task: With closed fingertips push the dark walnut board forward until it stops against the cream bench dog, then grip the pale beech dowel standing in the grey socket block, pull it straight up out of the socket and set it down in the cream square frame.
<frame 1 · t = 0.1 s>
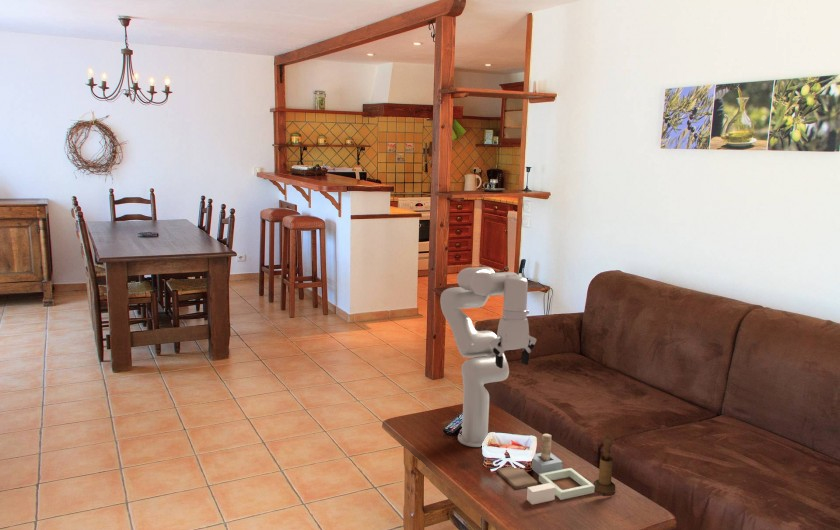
hand: (512, 365, 209), 37 cm above the table, tool pointing down, fingers open, 9 cm apart
dowel: (544, 469, 214), point 1 cm above the table, touching socket
socket: (544, 472, 214), on the table
cream square frame: (565, 489, 203), on the table
bench dog: (540, 502, 195), on the table
board: (516, 482, 207), on the table
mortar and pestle: (604, 491, 202), on the table
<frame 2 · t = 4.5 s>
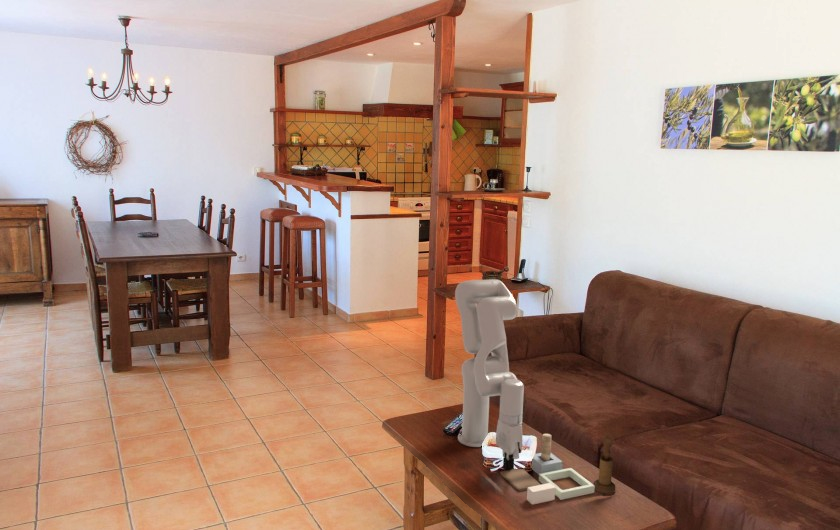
hand: (508, 469, 212), 1 cm above the table, tool pointing down, fingers closed
board: (519, 485, 206), on the table, touching gripper
everything else where it was.
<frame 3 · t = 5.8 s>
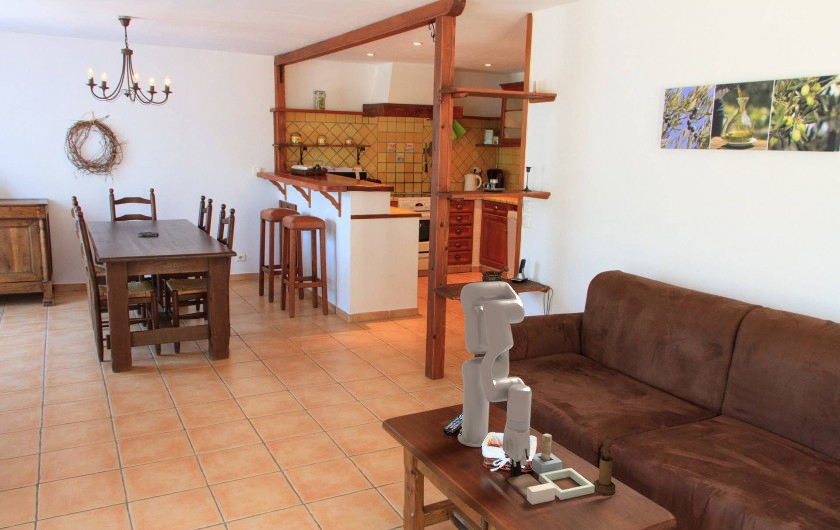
hand: (515, 475, 208), 1 cm above the table, tool pointing down, fingers closed
board: (527, 491, 202), on the table
everything else where it was.
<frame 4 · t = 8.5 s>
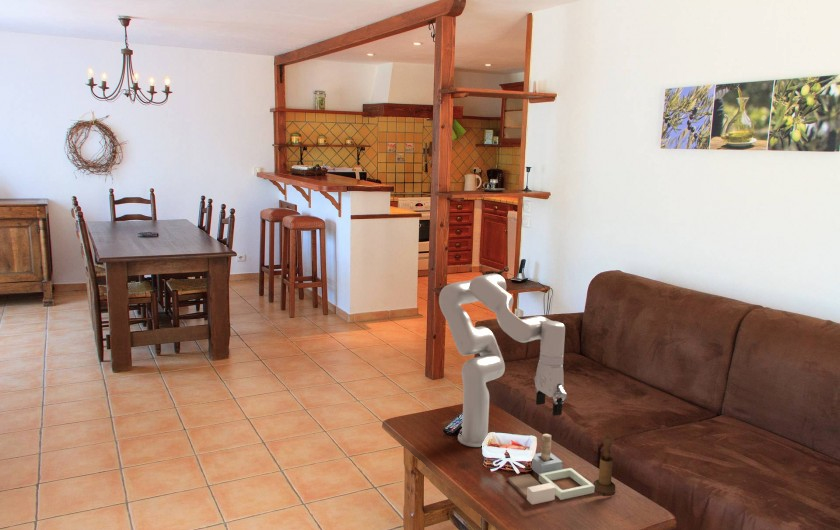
hand: (548, 409, 210), 22 cm above the table, tool pointing down, fingers open, 9 cm apart
nothing on the table moved.
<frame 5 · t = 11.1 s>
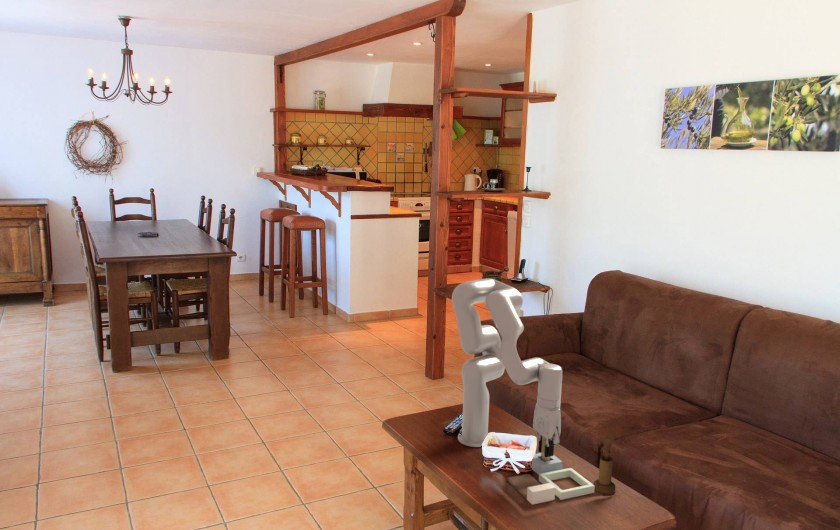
hand: (545, 453, 213), 7 cm above the table, tool pointing down, fingers closed on dowel, 2 cm apart
dowel: (544, 468, 213), point 1 cm above the table, touching gripper
everything else where it was.
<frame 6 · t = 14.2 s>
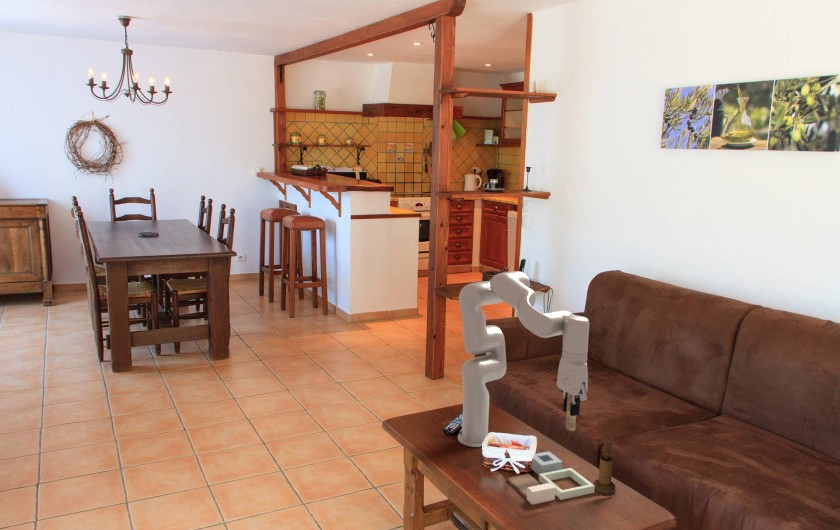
hand: (571, 412, 198), 26 cm above the table, tool pointing down, fingers closed on dowel, 2 cm apart
dowel: (570, 428, 199), point 21 cm above the table, touching gripper
everything else where it was.
when the fingers open (8 cm above the table, at t = 17.4 s): dowel drops 3 cm, resting on cream square frame.
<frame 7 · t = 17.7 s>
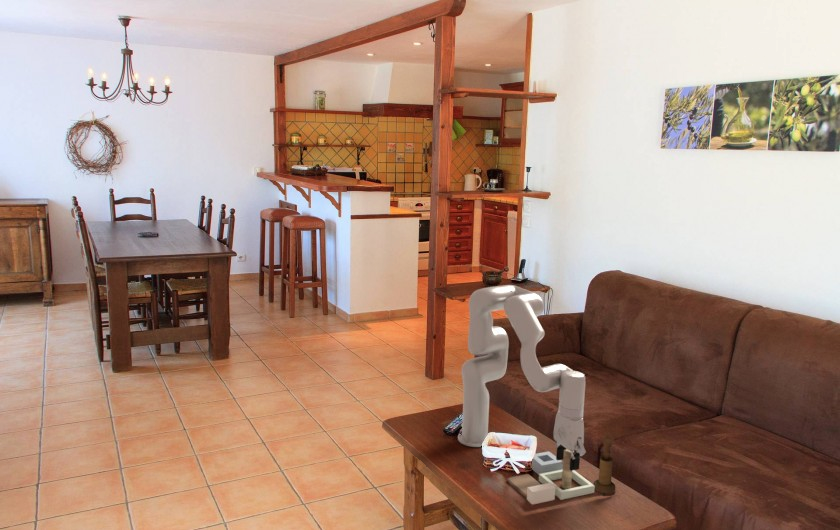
hand: (567, 464, 201), 9 cm above the table, tool pointing down, fingers open, 6 cm apart
dowel: (566, 487, 203), point 1 cm above the table, touching cream square frame
everything else where it was.
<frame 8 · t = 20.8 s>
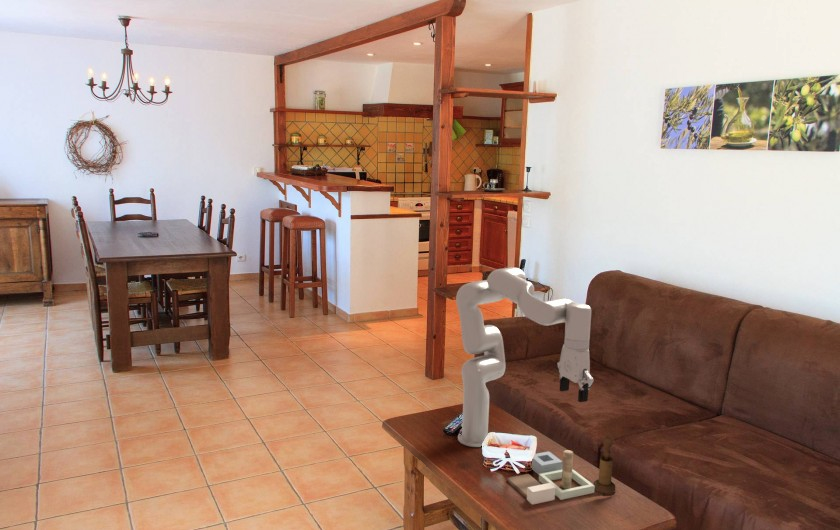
hand: (573, 395, 200), 30 cm above the table, tool pointing down, fingers open, 9 cm apart
nothing on the table moved.
at the end: dowel inside the target area on the cream square frame (0.1 cm from its centre), point 0.6 cm above the cream square frame's base; dowel touching cream square frame; board 0.3 cm from the target spot, on the table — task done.
